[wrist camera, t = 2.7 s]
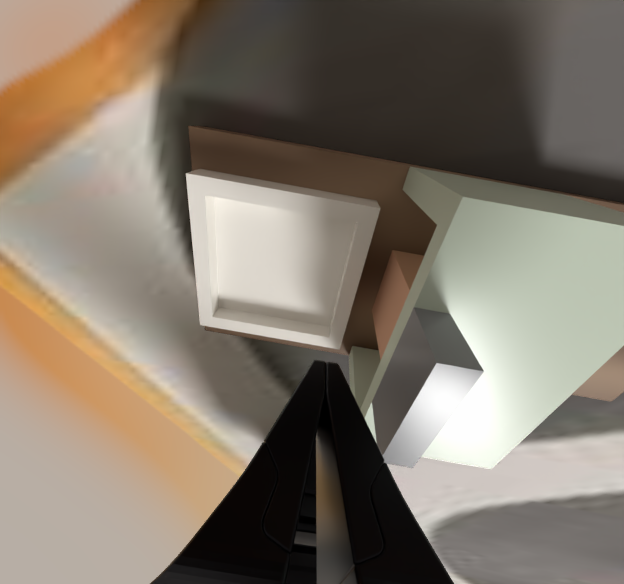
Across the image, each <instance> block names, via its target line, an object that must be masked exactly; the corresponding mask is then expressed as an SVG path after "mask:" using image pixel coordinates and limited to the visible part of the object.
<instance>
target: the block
mask: <svg viewBox="0 0 624 584" xmlns="http://www.w3.org/2000/svg"><path fill="white" fill-rule="evenodd" d="M423 258H424V256H423V255H417V254H412V253H406V252H401V251H395V250H392V253H391V256H390V258H389V261H388V264H387V267H386V270H385V273H384V276H383V279H382V282H381V285H380V288H379V291H378V294H377V297H376V299H375V302H374V305H373V308H372V314H373V320H374V326H375V331H376V337H377V343H378V348H379V354H380V360H381V359H382V356H383V354H384V351H385V349H386V347H387V344H388V342H389V339H390V337H391V335H392V332H393V330H394V327H395V325H396V323H397V320H398V318H399V315H400V313H401V311H402V308H403V306H404V303H405V301H406V299H407V296H408V294H409V291H410V289H411V287H412V284H413V282H414V279H415V277H416V275H417V272H418V270H419V267H420V265H421V263H422V260H423Z"/></svg>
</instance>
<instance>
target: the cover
mask: <svg viewBox="0 0 624 584" xmlns="http://www.w3.org/2000/svg"><path fill="white" fill-rule="evenodd" d="M402 190H403V191H404V192H405V193H406V194H407V195H408V196H409V197H410V198H411V199H412V200H413V201H414V202H415V203H416V204H417V205H418V206H419V207H420V208H421V209H422V210H423V211H424V212H425V213H426V214H427V215H428V216H429V217H430V218H431V219H432V220H433V221H434V222H435V223H436V224H437V227H436V229H435V231H434V234H433V236H432V239H431V241H430V243H429V246H428V248H427V251H426V253H425V255H424V258H423V260H422V263H421V265H420V267H419V270H418V272H417V275H416V277H415V279H414V282H413V284H412V287H411V289H410V291H409V294H408V296H407V299H406V301H405V303H404V306H403V308H402V311H401V313H400V315H399V318H398V320H397V323H396V325H395V327H394V330H393V332H392V335H391V337H390V339H389V342H388V344H387V347H386V349H385V351H384V354H383V356H382V359H381V360H380V354H379V350H373V349H367V348H362V347H356V346H352V348H351V351H350V354H349V372H350V389H351V391H352V393H353V395H354V398H355V400H356V402H357V404H358V406H359V408H360V410H361V412H362V414H363V416H364V418H365V420H366V422H367V425H368V427H369V429H370V431H371V433H372V435H373V437H374V439H375V441H376V443H377V445H378V447H379V450H380V452H381V454H382V456H383V458H384V460H385V461H384V463H386V464H392V465H398V466H404V467H409V468H413V467H414V466H415V464H416V463H417V462H418V460H419V459H420V458H421V457H423V458H429V459H435V460H441V461H446V462H452V463H458V464H464V465H470V466H475V467H481V468H487V469H492V468H493V467H494V466H495V465H496V464H498V463H499V462H500V461H501V460H502V459H503V458H504V457H505V456H506V455H507V454H508V453H509V452H510V451H511V450H512V449H514V448H515V447H516V446H517V445H518V444H519V443H520V442H521V441H522V440H523V439H524V438H525V437H526V436H527V435H529V434H530V433H531V432H532V431H533V430H534V429H535V428H536V427H537V426H538V425H539V424H540V423H541V422H542V421H544V420H545V419H546V418H547V417H548V416H549V415H550V414H551V413H552V412H553V411H554V410H555V409H556V408H557V407H559V406H560V405H561V404H562V403H563V402H564V401H565V400H566V399H567V398H568V397H569V396H570V395H571V394H572V393H573V392H575V391H576V390H577V389H578V388H579V387H580V386H581V385H582V384H583V383H584V382H585V381H586V380H587V379H588V378H590V377H591V376H592V375H593V374H594V373H595V372H596V371H597V370H598V369H599V368H600V367H601V366H602V365H603V364H605V363H606V362H607V361H608V360H609V359H610V358H611V357H612V356H613V355H614V354H615V353H616V352H617V351H618V350H619V349H621V348H622V347H623V346H624V213H623V212H620V211H617V210H613V209H610V208H607V207H604V206H600V205H597V204H594V203H590V202H587V201H584V200H581V199H577V198H574V197H571V196H567V195H564V194H559V193H553V192H548V191H542V190H537V189H531V188H526V187H520V186H515V185H509V184H504V183H498V182H493V181H488V180H482V179H477V178H471V177H466V176H460V175H455V174H449V173H444V172H438V171H433V170H427V169H422V168H416V167H411V166H410V168H409V171H408V174H407V177H406V180H405V183H404V186H403V189H402Z"/></svg>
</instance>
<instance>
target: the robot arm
mask: <svg viewBox="0 0 624 584" xmlns="http://www.w3.org/2000/svg"><path fill="white" fill-rule="evenodd" d="M384 461H385V460H384V458H383V456H382V454H381V452H380V450H379V447H378V445H377V443H376V441H375V439H374V437H373V435H372V433H371V431H370V429H369V427H368V425H367V422H366V420H365V418H364V416H363V414H362V412H361V410H360V408H359V406H358V404H357V402H356V400H355V398H354V395H353V393H352V391H351V389H350V387H349V385H348V383H347V381H346V379H345V377H344V375H343V373H342V371H341V368H340V366H339V365H338V364H337V363H333V362H326V363H325V361H321V360H313V362H312V363H311V365H310V367H309V368H308V370H307V372H306V373H305V375H304V376H303V378H302V380H301V381H300V383H299V385H298V386H297V388H296V389H295V391H294V393H293V394H292V396H291V398H290V399H289V401H288V402H287V404H286V406H285V407H284V409H283V411H282V412H281V414H280V416H279V417H278V419H277V420H276V422H275V424H274V425H273V427H272V429H271V430H270V432H269V433H268V435H267V437H266V438H265V440H264V442H263V443H262V445H261V446H260V448H259V449H258V451H257V453H256V454H255V456H254V457H253V459H252V460H251V462H250V463H249V465H248V466H247V468H246V469H245V471H244V472H243V474H242V475H241V476H240V478H239V479H238V480H237V482H236V484H235V485H234V486H233V487H232V489H231V490H230V491H229V493H228V494H227V495H226V496H225V498H224V499H223V500H222V501H221V503H220V504H219V505H218V506H217V508H216V509H215V510H214V512H213V513H212V514H211V515H210V517H209V518H208V519H207V520H206V522H205V523H204V524H203V526H202V527H201V528H200V529H199V531H198V532H197V533H196V534H195V536H194V537H193V538H192V539H191V541H190V542H189V543H188V544H187V545H186V547H185V548H184V549H183V550H182V551H181V552H180V554H179V555H178V556H177V557H176V558H175V559H174V560H173V561H172V563H171V564H170V565H169V566H168V567H167V568H166V569H165V570H164V571H163V572H162V573H161V574H160V575H159V576H158V577H157V578H156V579H155V580H154V581H152V582H151V583H150V584H454V583H453V581H452V579H451V578H450V576H449V574H448V573H447V571H446V569H445V568H444V566H443V564H442V563H441V561H440V559H439V558H438V556H437V554H436V553H435V551H434V549H433V548H432V546H431V544H430V543H429V541H428V539H427V537H426V536H425V534H424V532H423V531H422V529H421V527H420V526H419V524H418V522H417V521H416V519H415V517H414V515H413V514H412V512H411V510H410V508H409V507H408V505H407V503H406V501H405V500H404V498H403V496H402V494H401V492H400V490H399V488H398V486H397V484H396V482H395V480H394V478H393V476H392V474H391V472H390V470H389V468H388V466H387V464H386V463H384Z"/></svg>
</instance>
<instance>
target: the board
mask: <svg viewBox="0 0 624 584" xmlns="http://www.w3.org/2000/svg"><path fill="white" fill-rule="evenodd" d="M188 128H189V140H190V152H191V164H192V171H194V170H198V169H204V170H210V171H215V172H221V173H226V174H232V175H237V176H243V177H248V178H254V179H260V180H265V181H271V182H276V183H282V184H287V185H293V186H298V187H304V188H309V189H315V190H320V191H326V192H331V193H337V194H343V195H348V196H354V197H359V198H365V199H370V200H376V201H377V202H378V204H379V206H380V212H379V215H378V219H377V222H376V226H375V229H374V233H373V236H372V240H371V243H370V246H369V250H368V253H367V257H366V260H365V264H364V267H363V271H362V274H361V278H360V281H359V284H358V288H357V291H356V295H355V298H354V302H353V305H352V309H351V312H350V316H349V319H348V322H347V326H346V329H345V333H344V336H343V340H342V343H341V347H340V350H339V349H334V348H328V347H322V346H317V345H311V344H305V343H300V342H294V341H288V340H282V339H277V338H271V337H265V336H260V335H254V334H248V333H243V332H237V331H231V330H226V329H220V328H214V327H209V326H205V330H207V331H213V332H219V333H224V334H230V335H236V336H241V337H247V338H253V339H259V340H264V341H270V342H276V343H281V344H287V345H293V346H298V347H304V348H310V349H315V350H321V351H327V352H332V353H338V354H344V355H349V354H350V351H351V348H352V346H356V347H362V348H367V349H373V350H379V348H378V343H377V337H376V331H375V326H374V320H373V314H372V308H373V305H374V302H375V299H376V297H377V294H378V291H379V288H380V285H381V282H382V279H383V276H384V273H385V270H386V267H387V264H388V261H389V258H390V256H391V253H392V250H395V251H401V252H406V253H412V254H417V255H423V256H424V255H425V253H426V251H427V248H428V246H429V243H430V241H431V239H432V236H433V234H434V231H435V229H436V227H437V224H436V223H435V222H434V221H433V220H432V219H431V218H430V217H429V216H428V215H427V214H426V213H425V212H424V211H423V210H422V209H421V208H420V207H419V206H418V205H417V204H416V203H415V202H414V201H413V200H412V199H411V198H410V197H409V196H408V195H407V194H406V193H405V192H404V191H403V190H402V189H403V186H404V183H405V180H406V177H407V174H408V171H409V168H410V166H411V167H416V168H422V169H427V170H433V171H438V172H444V173H449V174H455V175H460V176H466V177H471V178H477V179H482V180H488V181H493V182H498V183H504V184H509V185H515V186H520V187H526V188H531V189H537V190H542V191H548V192H553V193H559V194H564V195H567V196H571V197H574V198H577V199H581V200H584V201H587V202H590V203H594V204H597V205H600V206H604V207H607V208H610V209H613V210H617V211H620V212H623V213H624V203H621V202H616V201H610V200H605V199H599V198H594V197H588V196H583V195H577V194H572V193H566V192H561V191H555V190H550V189H544V188H539V187H533V186H528V185H522V184H517V183H511V182H506V181H500V180H495V179H489V178H484V177H478V176H473V175H467V174H462V173H456V172H451V171H445V170H440V169H434V168H429V167H424V166H418V165H413V164H407V163H402V162H396V161H391V160H385V159H380V158H374V157H369V156H363V155H358V154H352V153H347V152H341V151H336V150H330V149H325V148H319V147H314V146H308V145H303V144H297V143H292V142H286V141H281V140H275V139H270V138H264V137H259V136H253V135H248V134H242V133H237V132H231V131H226V130H220V129H215V128H209V127H204V126H188ZM623 392H624V346H623V347H622V348H621V349H619V350H618V351H617V352H616V353H615V354H614V355H613V356H612V357H611V358H610V359H609V360H608V361H607V362H606V363H605V364H603V365H602V366H601V367H600V368H599V369H598V370H597V371H596V372H595V373H594V374H593V375H592V376H591V377H590V378H588V379H587V380H586V381H585V382H584V383H583V384H582V385H581V386H580V387H579V388H578V389H577V390H576V391H575V392H573V393H572V394H571V395H577V396H583V397H588V398H594V399H600V400H605V401H611V402H612V401H613V400H614V399H615V398H616V397H618V396H619V395H620V394H621V393H623Z"/></svg>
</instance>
